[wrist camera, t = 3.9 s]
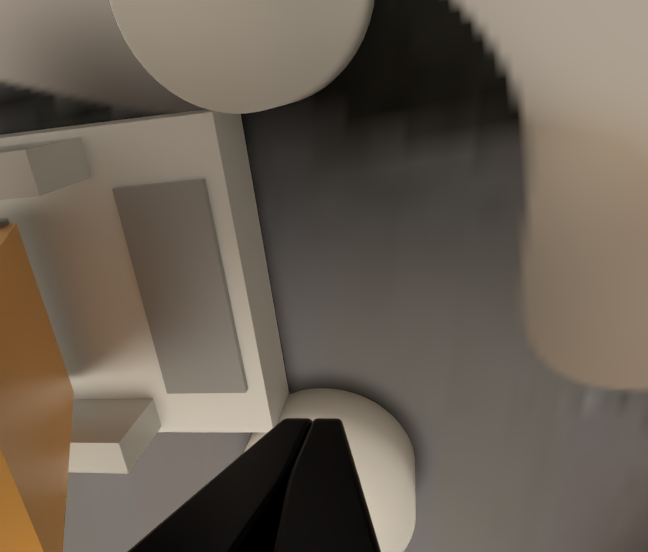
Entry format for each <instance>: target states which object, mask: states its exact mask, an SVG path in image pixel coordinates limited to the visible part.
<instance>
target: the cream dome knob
mask: <svg viewBox="0 0 648 552" xmlns="http://www.w3.org/2000/svg"><path fill="white" fill-rule="evenodd" d="M286 418H309V419H311V420H312V421H313V420H315V419H317V418H338V419H340V420H341V421H342V422H343V425H344V429H345V432H346V436H347V439H348V442H349V446H350V449H351V452H352V456H353V459H354V462H355V466H356V469H357V473H358V476H359V479H360V483H361V486H362V489H363V493H364V496H365V499H366V503H367V506H368V510H369V513H370V516H371V520H372V523H373V526H374V530H375V533H376V536H377V540H378V543H379V547H380V550H381V552H403V551H404V550H405V549H406V547H407V545H408V543H409V542H410V540H411V537H412V534H413V532H414V527H415V456H414V450H413V447H412V444H411V441H410V439H409V437H408V435H407V433H406V432H405V430H404V429H403V427H402V426H401V425H400V423H399V422H398V421H397V420H396V419H395V418H394V417H393V416H392V415H391V414H390V413H389V412H388V411H386V410H385V409H384V408H382V407H381V406H380V405H378V404H377V403H375V402H373V401H371V400H369V399H367V398H365V397H363V396H360V395H358V394H355V393H352V392H348V391H344V390H338V389H331V388H315V389H307V390H302V391H298V392H295V393H292V394H289V395H288V397H287V400H286V402H285V405H284V407H283V410H282V412H281V415H280V417H279V420H278V422H277V424H278V423H279V422H281V421H282V420H283V419H286ZM266 433H268V432H253V433H252V435H251V438H250V440H249V442H248V444H247V447H246V449H245V451H246V450H248V449H249V448H250V447H251V446H252V445H253V444H255V443H256V442H257V441H258V440H259V439H261V438H262V437H263V436H264V435H265V434H266ZM245 451H244V452H245Z"/></svg>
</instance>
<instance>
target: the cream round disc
mask: <svg viewBox="0 0 648 552" xmlns="http://www.w3.org/2000/svg"><path fill="white" fill-rule="evenodd" d="M374 1H375V0H109V4H110V7H111V10H112V12H113V15H114V18H115V21H116V23H117V25H118V28H119V30H120V32H121V34H122V36H123V38H124V40H125V42H126V43H127V45H128V46H129V48H130V50H131V51H132V53H133V54H134V56H135V57H136V58H137V59H138V61H139V62H140V63H141V64H142V66H143V67H144V68H145V70H146V71H147V72H148V73H149V74H150V75H151V76H153V78H154V79H155V80H156V81H157V82H159V83H160V84H161V85H162V86H164V87H165V88H166V89H167V90H169V91H170V92H172V93H173V94H175V95H176V96H178V97H180V98H181V99H183V100H185V101H187V102H189V103H192V104H194V105H196V106H198V107H201V108H205V109H208V110H212V111H216V112H223V113H230V114H246V113H253V112H260V111H264V110H268V109H271V108H275V107H279V106H283V105H286V104H290V103H293V102H297V101H300V100H303V99H305V98H307V97H309V96H311V95H314V94H315V93H317V92H318V91H320V90H321V89H323V88H325V87H326V86H327V85H328V84H330V83H331V82H332V81H333V80H334V79H336V78H337V77H338V76H339V75H340V73H341V72H342V71H343V70H344V69H345V68H346V67H347V66H348V64H349V63H350V61H351V60H352V58H353V57H354V56H355V54H356V53H357V51H358V49H359V47H360V45H361V43H362V41H363V39H364V37H365V34H366V31H367V29H368V26H369V24H370V20H371V16H372V12H373V8H374Z"/></svg>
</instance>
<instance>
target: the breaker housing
mask: <svg viewBox="0 0 648 552" xmlns="http://www.w3.org/2000/svg"><path fill="white" fill-rule="evenodd" d="M0 218H8V220H9V222H10V223H15V222H16V224H17V226H18V229H19V232H20V235H21V238H22V241H23V244H24V247H25V250H26V253H27V256H28V259H29V262H30V265H31V267H32V270H33V273H34V276H35V279H36V282H37V285H38V288H39V291H40V294H41V297H42V300H43V303H44V306H45V308H46V311H47V314H48V317H49V320H50V323H51V326H52V329H53V332H54V335H55V338H56V341H57V344H58V347H59V349H60V352H61V355H62V358H63V361H64V364H65V367H66V370H67V373H68V376H69V379H70V382H71V385H72V387H73V390H74V398H73V413H72V427H71V441H70V455H69V469H68V472H85V473H129V472H130V471H131V469H132V468H133V466H134V465H135V463H136V462H137V461H138V459H139V458H140V456H141V455H142V453H143V452H144V451H145V449H146V448H147V446H148V445H149V444H150V442H151V441H152V439H153V438H154V436H155V435H156V434H157V432H269V431H270V430H271V429H272V428H273V427H275V426H276V425H277V422H278V420H279V417H280V415H281V412H282V410H283V407H284V405H285V402H286V400H287V397H288V395H289V390H288V384H287V378H286V373H285V367H284V361H283V355H282V350H281V344H280V338H279V332H278V326H277V321H276V315H275V309H274V303H273V298H272V292H271V286H270V280H269V275H268V269H267V263H266V257H265V251H264V246H263V240H262V234H261V228H260V223H259V217H258V211H257V205H256V199H255V194H254V188H253V182H252V176H251V171H250V165H249V159H248V153H247V148H246V142H245V136H244V130H243V124H242V119H241V114H230V113H223V112H216V111H212V110H208V109H203V110H195V111H187V112H179V113H171V114H163V115H155V116H147V117H139V118H131V119H123V120H115V121H107V122H98V123H90V124H82V125H74V126H66V127H58V128H50V129H42V130H34V131H26V132H18V133H10V134H2V135H0Z"/></svg>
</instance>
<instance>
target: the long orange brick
mask: <svg viewBox="0 0 648 552" xmlns="http://www.w3.org/2000/svg"><path fill="white" fill-rule="evenodd" d="M73 398H74V390H73V387H72V385H71V382H70V379H69V376H68V373H67V370H66V367H65V364H64V361H63V358H62V355H61V352H60V349H59V347H58V344H57V341H56V338H55V335H54V332H53V329H52V326H51V323H50V320H49V317H48V314H47V311H46V308H45V306H44V303H43V300H42V297H41V294H40V291H39V288H38V285H37V282H36V279H35V276H34V273H33V270H32V267H31V265H30V262H29V259H28V256H27V253H26V250H25V247H24V244H23V241H22V238H21V235H20V232H19V229H18V226H17V224H16V222H15V223H10V222H9V220H8V218H0V552H63V539H64V525H65V511H66V497H67V483H68V469H69V455H70V441H71V427H72V413H73Z"/></svg>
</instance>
